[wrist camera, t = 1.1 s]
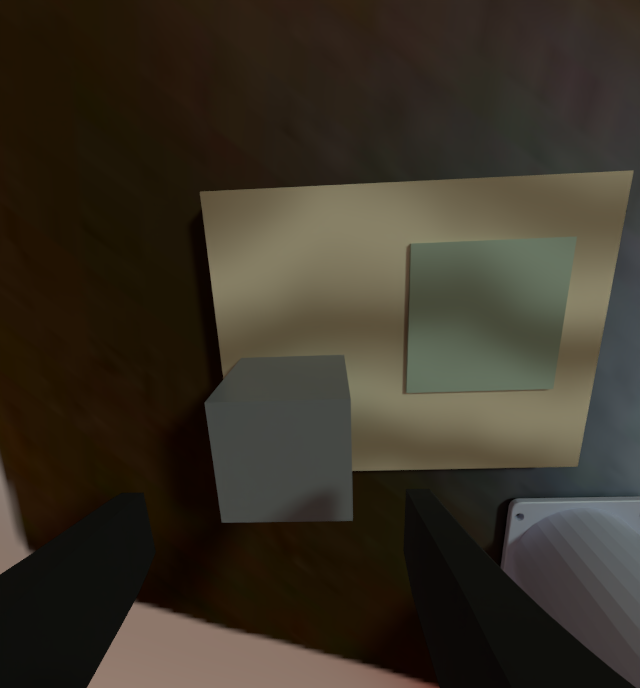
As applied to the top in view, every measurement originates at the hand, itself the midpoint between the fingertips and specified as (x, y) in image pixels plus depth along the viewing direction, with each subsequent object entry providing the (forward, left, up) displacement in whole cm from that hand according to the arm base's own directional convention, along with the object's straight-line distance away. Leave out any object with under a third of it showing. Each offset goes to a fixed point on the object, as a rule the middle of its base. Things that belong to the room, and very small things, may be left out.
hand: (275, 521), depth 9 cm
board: (+3, -5, -9) cm, 11 cm away
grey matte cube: (0, 0, -8) cm, 8 cm away
